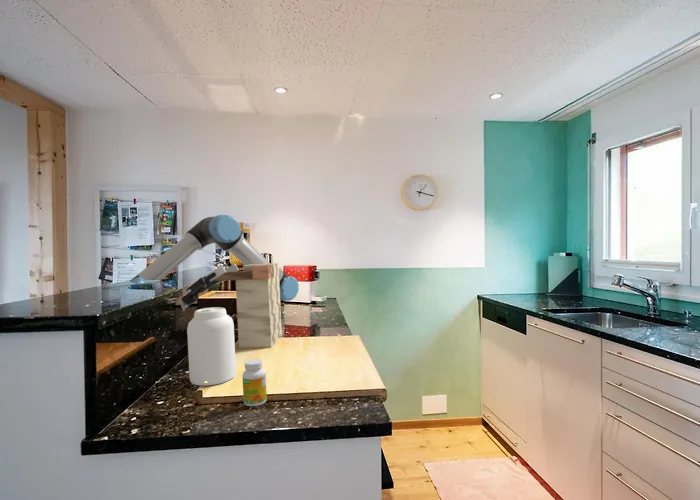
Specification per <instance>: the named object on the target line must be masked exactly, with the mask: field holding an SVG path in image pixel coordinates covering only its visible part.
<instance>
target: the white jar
mask: <svg viewBox="0 0 700 500" xmlns="http://www.w3.org/2000/svg"><path fill="white" fill-rule="evenodd" d="M186 334H187V355H188V356H187V357H188V371H189V372H188V373H189V376H188V377H189V381H190V383H191V384H192V385H195V386H203V387H204V386H205V387H207V386H208V387H209V386H215V385H219V384H223V383H226V382H228V381H231V380H233V379H234V378H235V377H236V374H237V367H236V366H237V365H236V364H237V363H236V346H235V345H236V344H235V343H236V342H235V341H236V340H235V324H234V319H233V318H232V317H231V316H230V315H229V314H227V310H226V308H225V307H222V306H221V307H219V306H218V307H217V306H216V307H215V306H213V307H203V308H200V309H197V310H195V311H194V313H193V317H192V319H190V321H189V322H188V323H187V328H186ZM205 381H207V382H208V383H204V382H205Z"/></svg>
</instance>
